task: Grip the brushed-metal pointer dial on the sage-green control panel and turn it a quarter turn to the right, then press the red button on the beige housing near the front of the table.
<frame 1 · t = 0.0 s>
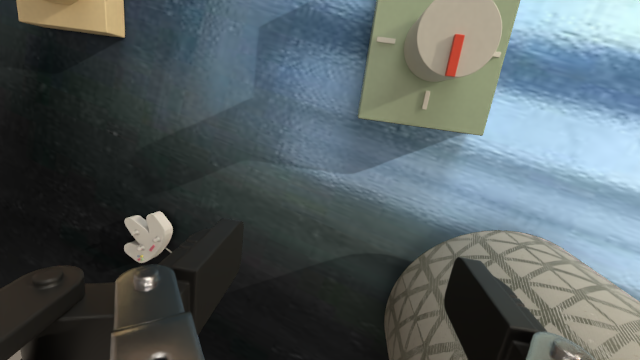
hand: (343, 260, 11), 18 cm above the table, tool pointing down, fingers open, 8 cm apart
planter: (473, 301, 31), on the table
game controller: (177, 250, 33), on the table
dial: (447, 40, 20), point 5 cm above the table, hinge at 0.0°
dial panel: (427, 53, 26), on the table
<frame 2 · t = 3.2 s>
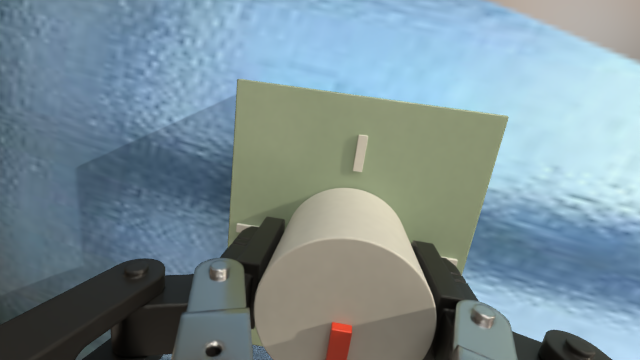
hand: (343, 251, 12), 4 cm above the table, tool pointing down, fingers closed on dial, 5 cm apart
dial: (343, 277, 10), point 5 cm above the table, hinge at 0.0°, touching gripper
dial panel: (345, 217, 15), on the table
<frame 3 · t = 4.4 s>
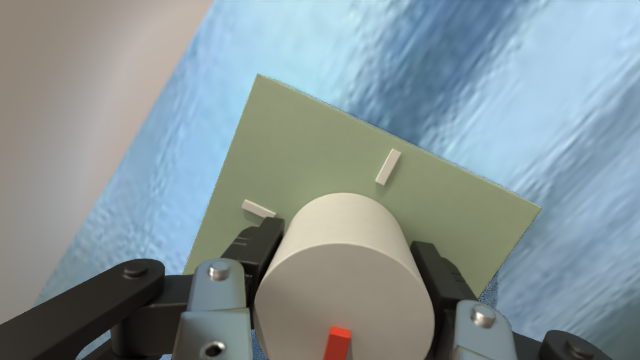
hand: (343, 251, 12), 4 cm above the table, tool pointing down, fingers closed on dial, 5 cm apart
dial: (342, 282, 10), point 5 cm above the table, hinge at -76.7°, touching gripper
dial panel: (344, 221, 16), on the table
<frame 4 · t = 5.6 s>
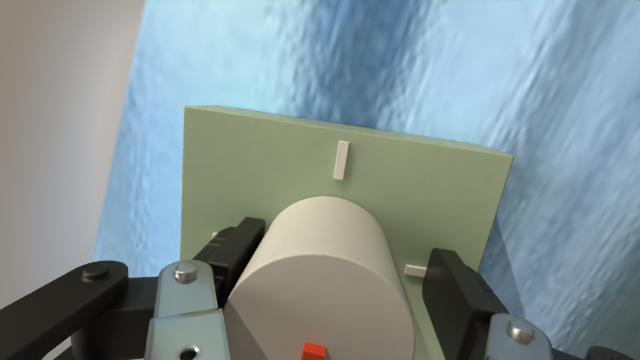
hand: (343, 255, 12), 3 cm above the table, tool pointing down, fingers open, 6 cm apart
dial: (321, 292, 10), point 5 cm above the table, hinge at -94.5°, touching gripper
dial panel: (328, 225, 15), on the table
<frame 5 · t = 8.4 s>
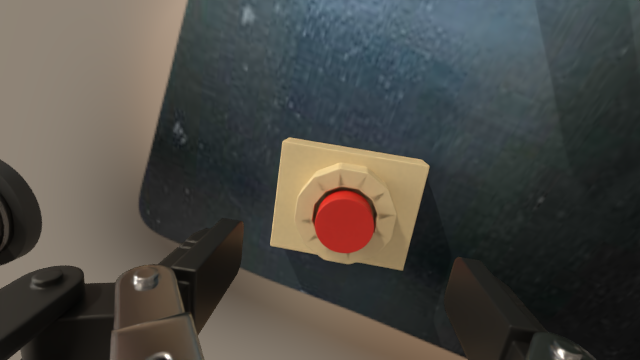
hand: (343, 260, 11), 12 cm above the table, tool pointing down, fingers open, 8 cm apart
button box: (345, 198, 23), on the table
red button: (344, 221, 19), point 4 cm above the table, slide at 0.1 cm
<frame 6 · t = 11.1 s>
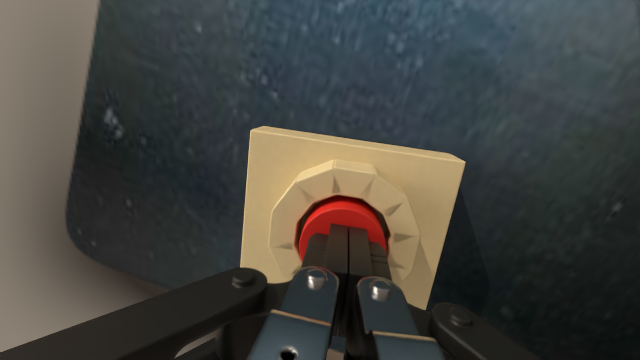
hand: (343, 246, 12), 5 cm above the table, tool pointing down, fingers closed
button box: (343, 209, 17), on the table
red button: (342, 239, 13), point 4 cm above the table, slide at -0.6 cm, touching gripper
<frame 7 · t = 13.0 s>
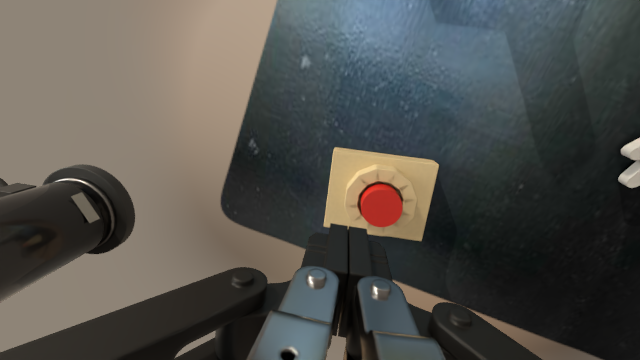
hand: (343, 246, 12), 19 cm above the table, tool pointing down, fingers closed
button box: (376, 190, 32), on the table
red button: (380, 205, 27), point 4 cm above the table, slide at 0.1 cm
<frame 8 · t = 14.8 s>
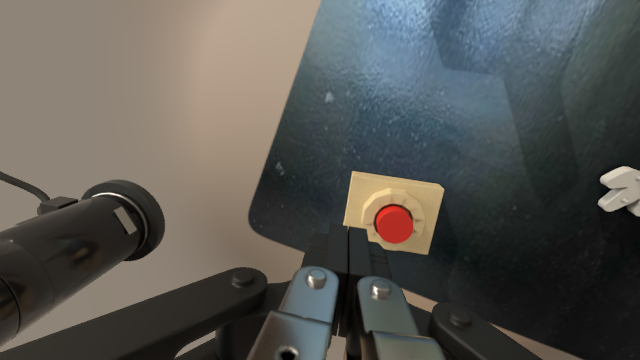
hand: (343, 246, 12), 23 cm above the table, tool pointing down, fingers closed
button box: (388, 209, 36), on the table
red button: (394, 224, 31), point 4 cm above the table, slide at 0.1 cm
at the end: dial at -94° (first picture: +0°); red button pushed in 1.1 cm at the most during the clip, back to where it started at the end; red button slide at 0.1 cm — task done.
